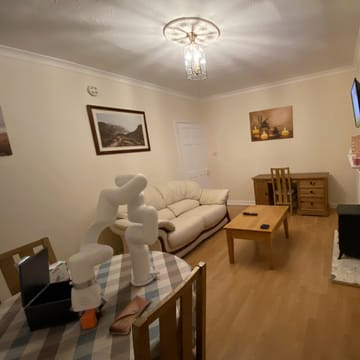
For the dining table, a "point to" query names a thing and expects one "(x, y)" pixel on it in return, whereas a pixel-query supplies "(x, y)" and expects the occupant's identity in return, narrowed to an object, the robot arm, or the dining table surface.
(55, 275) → the candy bar box
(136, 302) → the sunglasses case
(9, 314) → the dining table surface
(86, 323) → the packet
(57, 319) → the black box
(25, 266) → the box lid
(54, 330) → the dining table surface
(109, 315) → the dining table surface
